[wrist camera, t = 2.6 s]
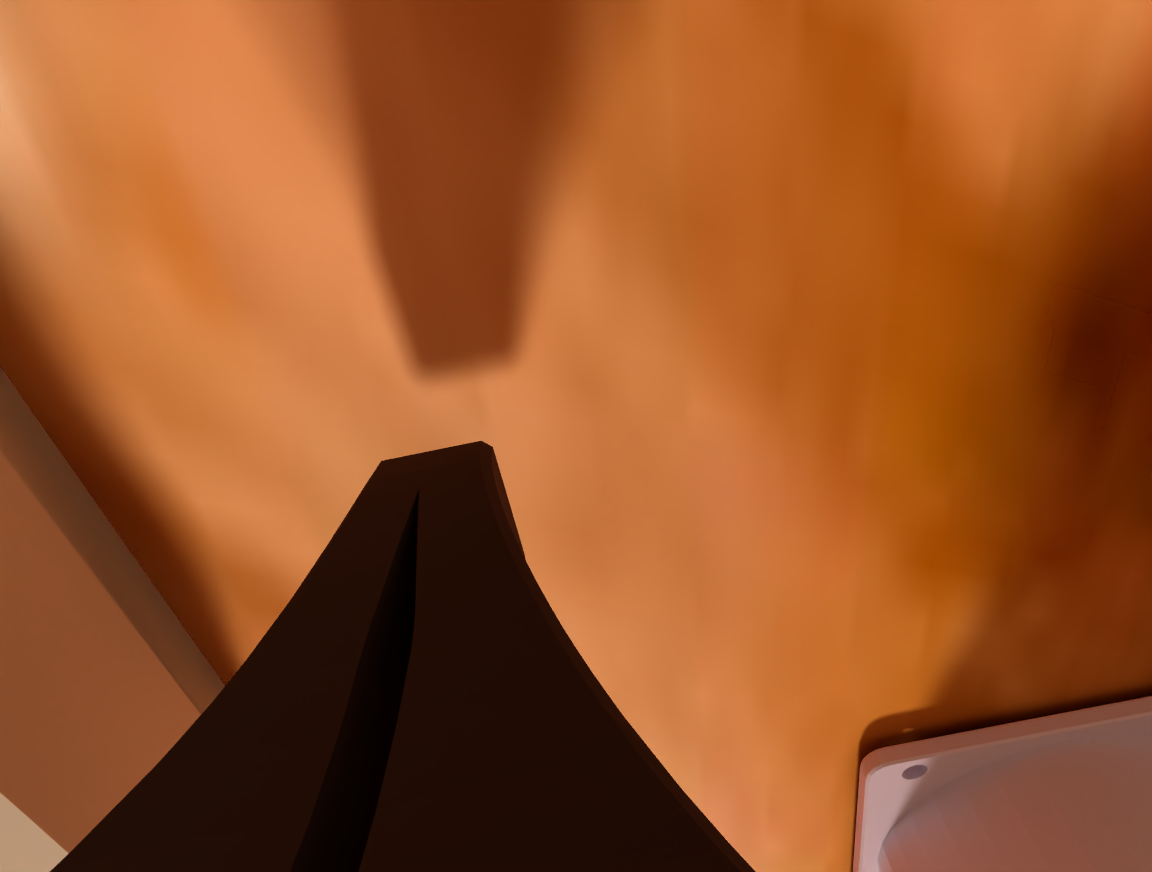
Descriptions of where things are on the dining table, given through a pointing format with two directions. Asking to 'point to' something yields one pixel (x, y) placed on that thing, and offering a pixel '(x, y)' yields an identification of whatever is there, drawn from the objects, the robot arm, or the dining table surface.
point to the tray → (76, 655)
